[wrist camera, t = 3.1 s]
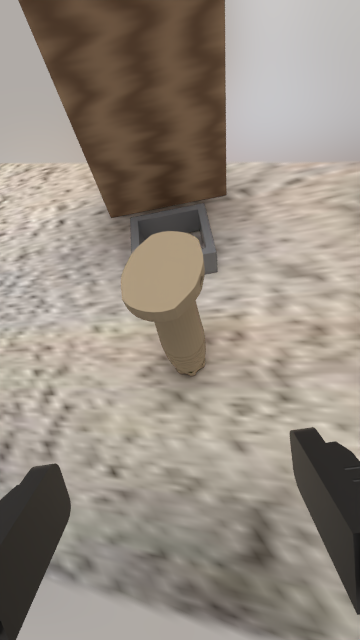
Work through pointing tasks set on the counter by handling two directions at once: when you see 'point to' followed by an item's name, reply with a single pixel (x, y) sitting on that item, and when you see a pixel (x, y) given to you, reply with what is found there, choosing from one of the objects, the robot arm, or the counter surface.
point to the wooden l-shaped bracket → (141, 94)
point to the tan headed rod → (169, 294)
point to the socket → (177, 229)
